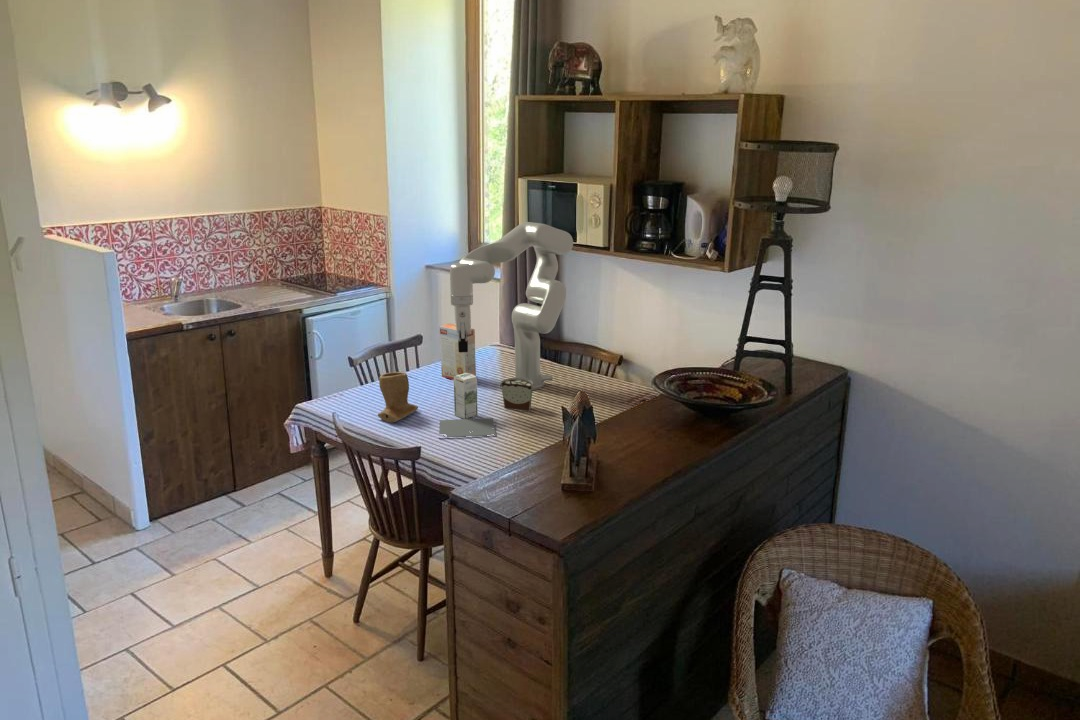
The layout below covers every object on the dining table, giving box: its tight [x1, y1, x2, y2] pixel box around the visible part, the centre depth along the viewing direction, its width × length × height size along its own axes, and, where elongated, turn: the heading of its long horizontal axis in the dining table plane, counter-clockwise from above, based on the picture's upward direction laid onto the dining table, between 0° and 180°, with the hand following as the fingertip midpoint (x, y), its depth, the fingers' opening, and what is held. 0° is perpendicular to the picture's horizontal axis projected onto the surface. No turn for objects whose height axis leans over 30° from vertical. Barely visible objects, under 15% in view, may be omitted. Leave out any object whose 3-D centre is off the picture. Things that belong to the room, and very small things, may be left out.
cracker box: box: [439, 323, 477, 381], centre depth 306 cm, size 14×6×21 cm, turn 49°
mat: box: [438, 417, 497, 437], centre depth 260 cm, size 18×15×1 cm
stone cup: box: [377, 371, 419, 423], centre depth 269 cm, size 15×12×15 cm
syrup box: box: [453, 373, 478, 419], centre depth 269 cm, size 6×6×14 cm
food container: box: [499, 377, 534, 412], centre depth 277 cm, size 12×6×10 cm, turn 71°
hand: (463, 351), depth 273 cm, fingers closed
